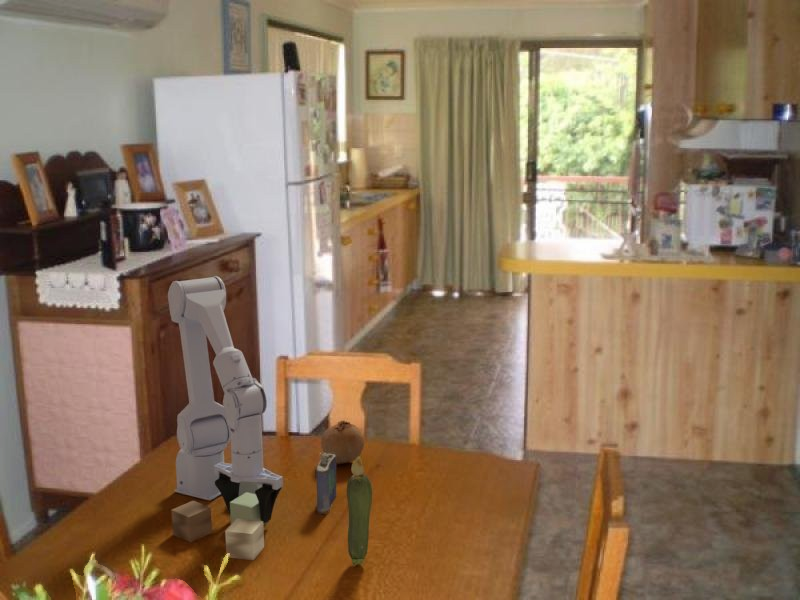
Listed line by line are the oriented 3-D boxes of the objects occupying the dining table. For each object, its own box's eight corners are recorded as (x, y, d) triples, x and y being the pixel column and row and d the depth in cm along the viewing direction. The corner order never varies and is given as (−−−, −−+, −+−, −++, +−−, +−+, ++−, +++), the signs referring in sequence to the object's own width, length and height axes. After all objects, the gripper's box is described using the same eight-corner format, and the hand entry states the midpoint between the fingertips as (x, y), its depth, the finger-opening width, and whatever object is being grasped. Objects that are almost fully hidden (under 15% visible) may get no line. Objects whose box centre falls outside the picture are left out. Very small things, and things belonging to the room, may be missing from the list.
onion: (363, 472, 191) (362, 428, 189) (319, 472, 191) (318, 428, 189) (365, 455, 200) (364, 413, 198) (323, 455, 201) (322, 413, 198)
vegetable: (347, 557, 155) (345, 448, 151) (372, 556, 155) (371, 447, 151) (348, 570, 150) (346, 458, 146) (373, 568, 151) (372, 457, 147)
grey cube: (233, 503, 176) (232, 480, 175) (241, 493, 181) (240, 470, 180) (258, 505, 176) (257, 481, 175) (265, 494, 180) (264, 471, 179)
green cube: (231, 527, 166) (229, 502, 165) (247, 516, 171) (246, 492, 170) (252, 532, 164) (251, 507, 163) (268, 521, 168) (267, 497, 167)
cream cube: (226, 557, 155) (225, 531, 154) (238, 544, 160) (237, 518, 159) (253, 560, 154) (252, 534, 153) (264, 547, 159) (263, 521, 158)
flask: (328, 514, 171) (326, 462, 169) (313, 514, 171) (311, 461, 169) (338, 495, 180) (337, 444, 178) (324, 494, 180) (322, 444, 178)
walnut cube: (173, 535, 163) (171, 509, 162) (194, 525, 167) (193, 500, 166) (190, 542, 160) (188, 517, 159) (212, 532, 164) (210, 507, 163)
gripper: (201, 449, 164) (205, 517, 167) (265, 463, 157) (268, 534, 160) (226, 436, 170) (229, 502, 173) (288, 449, 164) (290, 518, 166)
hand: (249, 516), depth 167 cm, fingers open, 7 cm apart
